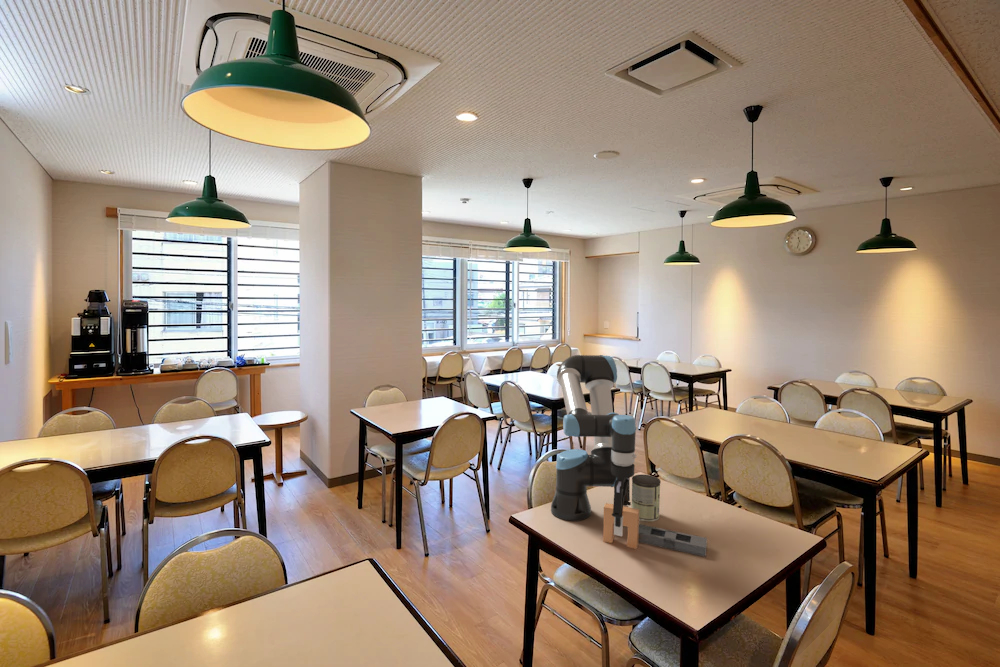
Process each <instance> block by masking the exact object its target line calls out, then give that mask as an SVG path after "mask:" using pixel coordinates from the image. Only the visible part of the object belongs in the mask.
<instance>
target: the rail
mask: <svg viewBox="0 0 1000 667" xmlns="http://www.w3.org/2000/svg"><path fill="white" fill-rule="evenodd" d="M638 543H643V544H647V545H651V546H655V547H661V548H665V549H668V550H673V551H678V552H682V553H687V554H691V555H695V556H699V557H703V558H704V557H705V558H706V557H707V556H706V554H707V545H708V544H707V543H708V538H707V537H704V536H698V535H693V534H689V533H685V532H684V533H683V532H680V531H675V530H670V529H666V528H665V529H664V528H660V527H656V526H651V525H645V524H642V523H639V534H638Z"/></svg>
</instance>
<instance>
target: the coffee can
mask: <svg viewBox="0 0 1000 667" xmlns="http://www.w3.org/2000/svg"><path fill="white" fill-rule="evenodd" d="M660 495H661V479H660V478H659V477H656V476H653V475H650V474H636V475H635V474H634V476H632V477H631V508H634V509H639V521H641V522H648V523H649V522H650V523H651V522H656V521H658V520H659V519H660V505H661V504H660V503H661V501H660V498H661V497H660Z"/></svg>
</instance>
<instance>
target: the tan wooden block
mask: <svg viewBox="0 0 1000 667" xmlns="http://www.w3.org/2000/svg"><path fill="white" fill-rule="evenodd" d="M613 505H614V503H613V504H612V503H607V502H606V503H605V504H604V506H603V531H602V532H603V533H602V536H603V537H602V542H603V543H609V544H613V543H614V540H615V535H614V516H612V514H613ZM622 515H623V527H627V539H626V540H627V541H626V543H627V544H626V545H627V546H626V547H627V548H631V549H635V550H637V548H638V546H639V542H638V534H639V524H640V520H639V509H634V508H632V507H629V506H628V507H624V506H623V513H622Z"/></svg>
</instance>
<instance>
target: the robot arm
mask: <svg viewBox="0 0 1000 667" xmlns="http://www.w3.org/2000/svg"><path fill="white" fill-rule="evenodd" d="M556 378H557V382H558V384H559V386H560V387H561V390H562V391H561V392H562V396H563V402H564V405H565V411H566V414H565V415H563V419H562V420H563V421H562V427H563V434H564V435H565V436H566V437H575V438H577V437H580V438H582V437H583V438H585V437H587V438H589V437H590V438H591V437H593V445H594V446H593V447H592V449H591V450H590V454H588V451H586V450H584V449H578V448H575V449H566V450H563V451H561V452H560V453H558V454H557V456H556V462H555V463H556V464H555V469H556V476H555V477H556V478H555V479H556V480H555V493H554V496H553V498H552V501H551V504H550V512H551V514H552V515H553V516H555V517H557V518H558V519H561V520H563V521H564V520H565V521H576V522H577V521H583V520H586V519H588V518H589V517H590V516H591V515H592V507H591V504H590V501H589V496H588V493H587V492H588V489H587V488H588V487H602V488H603V487H605V488H606V487H610V488H613V492H614V493H613V504H614V505H613V514H612V516H614V536H618V537H623V536H624V535H623V532H624V526H623V515H622V513H623V506H624V507H629V506H632V501H631V502H630V500H631V498H630V497H631V496H630V484H631V483H630V482H631V480H630V478H632V477H633V476H635V458H637V454H636V434H637V433H636V431H637V425H636V421H637V420H636V419H635V417H634V416H632V415H628V414H619V413H617V412H614V408H613V399H612V391H611V389H612V388H613V387H614V386H615V385H614V384H616V382H617V379H618V369H617V363H616V361H615V359H614V358H613V357H612V356H611V355H604V354H600V355H599V354H598V355H597V354H596V355H594V354H593V355H592V354H591V355H590V354H588V355H587V354H586V355H585V354H583V355H581V354H576V355H575V354H574V355H572V356H569V357H567V358H566V359H564V360H563V361H562V362H561V363H560V365H559V366H558V368H557V372H556ZM582 383H584V385H585V388H586V389H587V390H588V391H589V399H590V410H591V414H589V412H588V408H587V407H588V406H587V404H586V400H585V396H584V393H583V389H582V385H581V384H582Z"/></svg>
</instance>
